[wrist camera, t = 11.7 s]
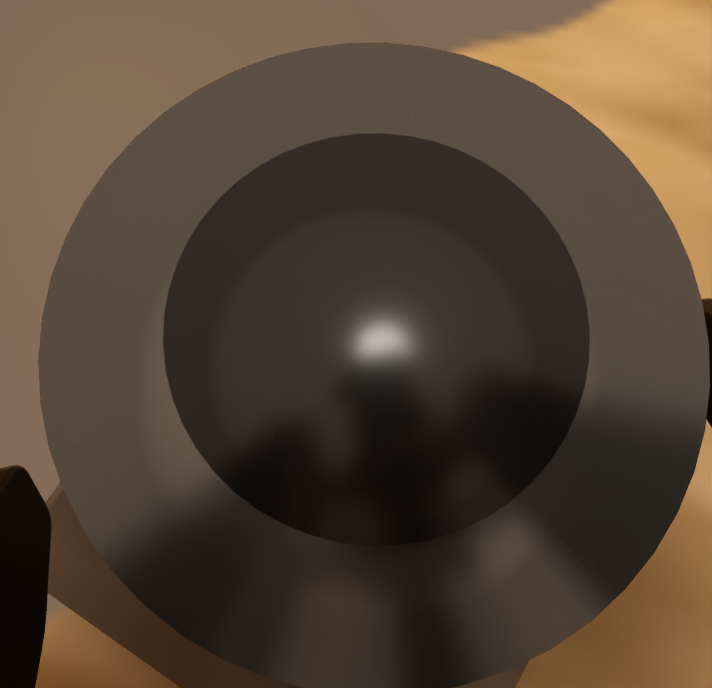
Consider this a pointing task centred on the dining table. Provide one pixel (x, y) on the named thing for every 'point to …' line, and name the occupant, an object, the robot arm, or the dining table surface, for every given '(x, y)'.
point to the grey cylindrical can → (374, 368)
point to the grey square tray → (150, 614)
